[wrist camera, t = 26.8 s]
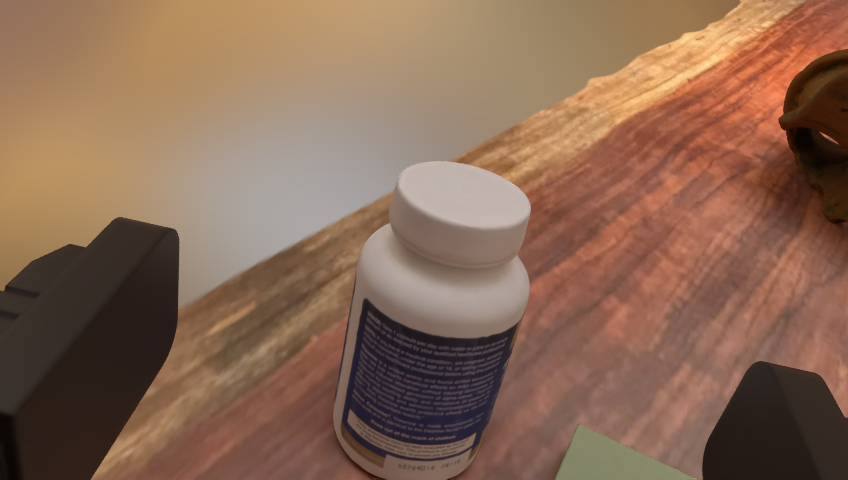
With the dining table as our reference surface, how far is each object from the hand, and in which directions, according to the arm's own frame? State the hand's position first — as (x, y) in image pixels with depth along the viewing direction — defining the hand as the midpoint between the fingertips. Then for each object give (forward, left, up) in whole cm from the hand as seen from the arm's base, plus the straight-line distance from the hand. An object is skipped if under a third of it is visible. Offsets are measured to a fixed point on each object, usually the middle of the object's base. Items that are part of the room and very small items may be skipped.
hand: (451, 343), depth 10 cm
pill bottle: (-3, +10, -13) cm, 17 cm away
